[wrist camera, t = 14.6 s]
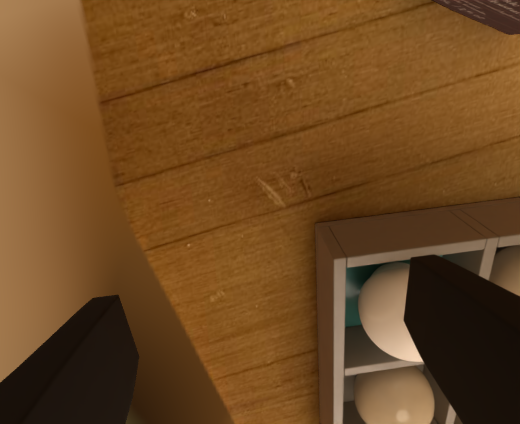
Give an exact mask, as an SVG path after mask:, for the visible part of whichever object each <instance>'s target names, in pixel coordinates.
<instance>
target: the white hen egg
mask: <svg viewBox="0 0 520 424" xmlns="http://www.w3.org/2000/svg"><path fill="white" fill-rule="evenodd" d="M409 268H410V265H409V264H406V263H402V262H392V263H387V264H385V265H382V266H381V267H379V268H378V269H376V270H375V271H374V272H373V274H372V275H371V277H370V278H369V279H368V280H367V281H366V282H365V283H364V284H363V286H362V288H361V290H360V293H359V297H358V310H359V316H360V320H361V323H362V325H363V328H364V330H365V331H366V333H367V335H368V336H369V337H370V339H371V340H372V341H373V342H374V343H375V344H376V345H377V346H378V347H379V348H380V349H382V350H383V351H384V352H386V353H388V354H389V355H391V356H393V357H396V358H398V359H402V360H406V361H412V362H423V360H422V358H421V357H420V355H419V353H418V351H417V348H416V346H415V344H414V342H413V340H412V338H411V336H410V334H409V332H408V329H407V327H406V325H405V323H404V321H403V319H404V311H405V302H406V294H407V285H408V276H409Z"/></svg>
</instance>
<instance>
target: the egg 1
mask: <svg viewBox="0 0 520 424" xmlns="http://www.w3.org/2000/svg"><path fill="white" fill-rule="evenodd" d="M353 397H354V402H355V405H356V408H357V411H358V413H359V415H360V416H361V418H362V420H363V421H364V422H365V423H366V424H431V422H432V419H433V416H434V411H435V399H434V394H433V390H432V388H431V385H430V383H429V381H428V379H427V378H426V376H425V375H424V373H423V372H422V371H421V370H420V369H419V368H418V367H417V366H416V365H414V366H407V367H400V368H394V369H387V370H380V371H374V372H367V373H360V374H356V377H355V380H354V385H353Z"/></svg>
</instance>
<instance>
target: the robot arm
mask: <svg viewBox="0 0 520 424" xmlns="http://www.w3.org/2000/svg"><path fill="white" fill-rule="evenodd" d="M403 321H404V323H405V325H406V327H407V329H408V332H409V334H410V336H411V338H412V340H413V342H414V344H415V346H416V348H417V351H418V353H419V355H420V357H421V358H422V360H423V362H424V363H425V365H426V367H427V368H428V370H429V371H430V373H431V375H432V376H433V378H434V379H435V381H436V383H437V384H438V386H439V387H440V389H441V391H442V392H443V394H444V395H445V397H446V398H447V400H448V402H449V403H450V405H451V406H452V408H453V409H454V411H455V412H456V414H457V416H458V417H459V419H460V420H461V422H462V423H463V424H520V296H518V295H516V294H514V293H512V292H510V291H508V290H506V289H504V288H502V287H500V286H498V285H496V284H494V283H493V282H491V281H489V280H487V279H485V278H483V277H481V276H479V275H477V274H475V273H473V272H471V271H469V270H467V269H465V268H463V267H461V266H459V265H457V264H455V263H453V262H451V261H449V260H447V259H444V258H442V257H440V256H438V255H435V254H433V255H425V256H417V257H411V259H410V268H409V276H408V285H407V294H406V302H405V311H404V319H403ZM138 359H139V354H138V352H137V348H136V346H135V342H134V339H133V337H132V334H131V331H130V328H129V325H128V322H127V319H126V316H125V313H124V310H123V307H122V304H121V301H120V298H119V295H112V296H104V297H97V298H92V299H91V300H90V301H89V302H88V303H86V304H85V305H84V306H83V307H82V308H81V309H80V310H79V311H77V312H76V313H75V314H74V315H73V316H72V317H71V318H70V319H69V320H68V321H67V322H66V323H65V324H64V325H63V326H62V327H60V328H59V329H58V330H57V331H56V332H55V333H54V334H53V335H52V336H51V337H50V338H49V339H48V340H47V341H46V342H45V343H43V345H41V346H40V347H39V348H38V349H37V350H36V351H35V352H34V353H33V354H32V355H31V356H30V357H28V358H27V359H26V360H25V361H24V362H23V363H22V364H21V365H20V366H19V367H18V368H17V369H15V370H14V371H13V372H12V373H11V374H10V375H9V376H7V377H6V378H5V379H4V380H3V381H2V382H0V424H125V423H126V420H127V416H128V412H129V408H130V405H131V401H132V398H133V391H134V386H135V380H136V374H137V367H138Z"/></svg>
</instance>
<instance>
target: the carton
mask: <svg viewBox="0 0 520 424" xmlns="http://www.w3.org/2000/svg"><path fill="white" fill-rule="evenodd" d="M315 242H316V283H317V324H318V366H319V407H320V424H366V423H365V422H364V421H363V420H362V418H361V416H360V415H359V413H358V411H357V408H356V405H355V402H354V397H353V385H354V380H355V377H356V374H360V373H367V372H374V371H380V370H387V369H394V368H400V367H407V366H414V365H416V366H417V367H418V368H419V369H420V370H421V371H422V372H423V373H424V375H425V376H426V378H427V379H428V381H429V383H430V385H431V388H432V390H433V394H434V399H435V411H434V416H433V419H432V422H431V424H463V423H462V422H461V420H460V419H459V417H458V416H457V414H456V412H455V411H454V409H453V408H452V406H451V405H450V403H449V402H448V400H447V398H446V397H445V395H444V394H443V392H442V391H441V389H440V387H439V386H438V384H437V383H436V381H435V379H434V378H433V376H432V375H431V373H430V371H429V370H428V368H427V367H426V365H425V363H424V362H412V361H406V360H402V359H398V358H396V357H393V356H391V355H389V354H388V353H386V352H384V351H383V350H382V349H380V348H379V347H378V346H377V345H376V344H375V343H374V342H373V341H372V340H371V339H370V337H369V336H368V335H367V333H366V331H365V330H364V328H363V325H362V323H361V320H360V316H359V310H358V297H359V293H360V290H361V288H362V286H363V284H364V283H365V282H366V281H367V280H368V279H369V278H370V277H371V275H372V274H373V272H374V271H375V270H376V269H378V268H379V267H381V266H382V265H385V264H387V263H392V262H402V263H406V264H409V265H410V259H411V257H417V256H425V255H433V254H435V255H438V256H440V257H442V258H444V259H447V260H449V261H451V262H453V263H455V264H457V265H459V266H461V267H463V268H465V269H467V270H469V271H471V272H473V273H475V274H477V275H479V276H481V277H483V278H485V279H487V280H489V276H490V272H491V268H492V264H493V260H494V256H495V254H496V253H497V252H498V251H500V250H502V249H503V248H505V247H507V246H512V245H520V197H517V198H510V199H502V200H494V201H486V202H478V203H470V204H463V205H455V206H447V207H439V208H431V209H424V210H416V211H408V212H400V213H392V214H385V215H377V216H369V217H361V218H353V219H345V220H338V221H330V222H322V223H316V224H315Z"/></svg>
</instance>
